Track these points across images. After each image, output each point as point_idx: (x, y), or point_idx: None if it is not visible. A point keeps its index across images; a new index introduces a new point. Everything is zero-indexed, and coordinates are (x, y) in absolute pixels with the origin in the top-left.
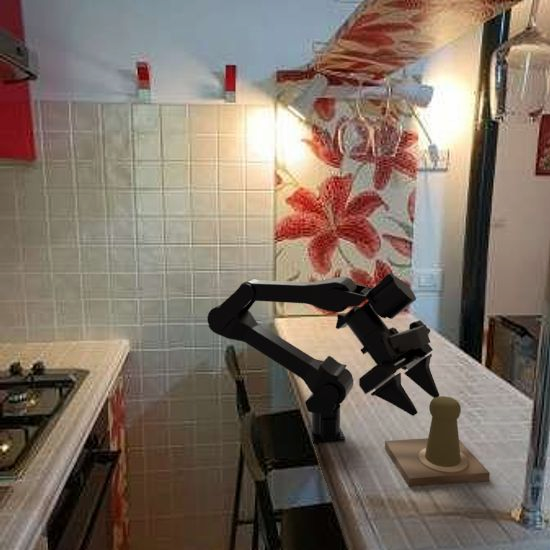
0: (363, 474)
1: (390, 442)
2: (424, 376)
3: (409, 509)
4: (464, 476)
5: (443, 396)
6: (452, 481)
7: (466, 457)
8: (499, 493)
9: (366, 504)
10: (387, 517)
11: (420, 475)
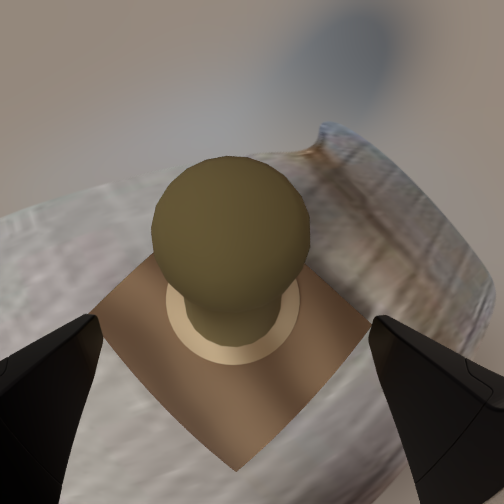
0: (382, 429)
1: (233, 457)
2: (28, 412)
3: (419, 287)
4: None
5: (180, 236)
6: None
7: None
8: None
9: None
10: (456, 304)
11: (343, 310)
